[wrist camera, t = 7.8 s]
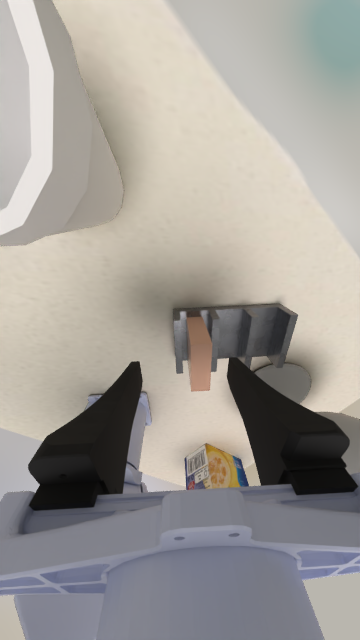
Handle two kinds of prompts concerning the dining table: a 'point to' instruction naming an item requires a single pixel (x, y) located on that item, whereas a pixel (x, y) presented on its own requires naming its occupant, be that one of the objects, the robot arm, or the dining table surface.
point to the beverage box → (213, 469)
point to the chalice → (296, 388)
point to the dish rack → (239, 332)
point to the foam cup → (48, 132)
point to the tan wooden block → (198, 354)
